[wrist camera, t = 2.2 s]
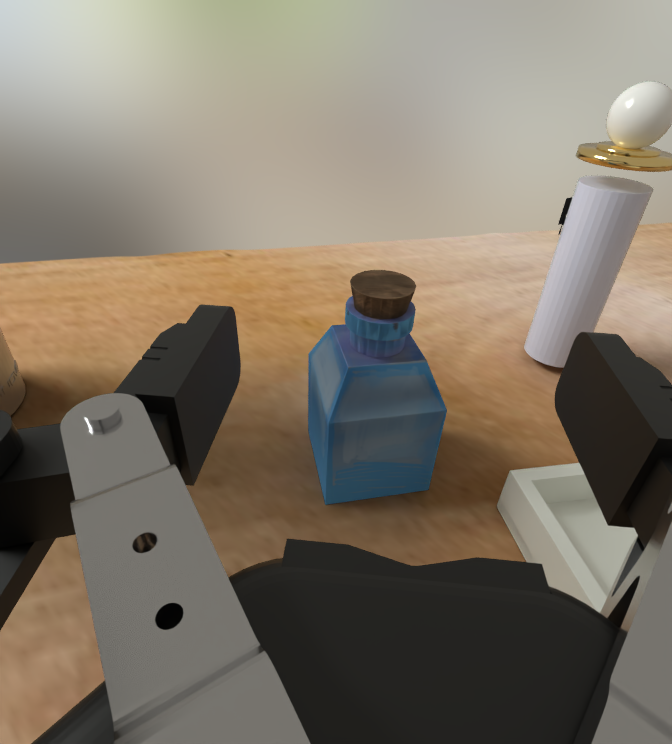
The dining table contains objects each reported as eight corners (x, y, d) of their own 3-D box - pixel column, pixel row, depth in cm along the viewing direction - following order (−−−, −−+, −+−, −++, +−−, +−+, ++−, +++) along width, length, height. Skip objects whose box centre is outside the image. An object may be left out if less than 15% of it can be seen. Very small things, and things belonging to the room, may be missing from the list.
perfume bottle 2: (595, 383, 37) (731, 88, 25) (521, 375, 37) (619, 82, 26) (575, 344, 42) (681, 80, 30) (509, 338, 42) (588, 75, 30)
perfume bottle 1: (396, 420, 33) (421, 255, 26) (428, 490, 28) (470, 310, 21) (308, 430, 31) (309, 261, 24) (325, 505, 27) (332, 319, 19)
